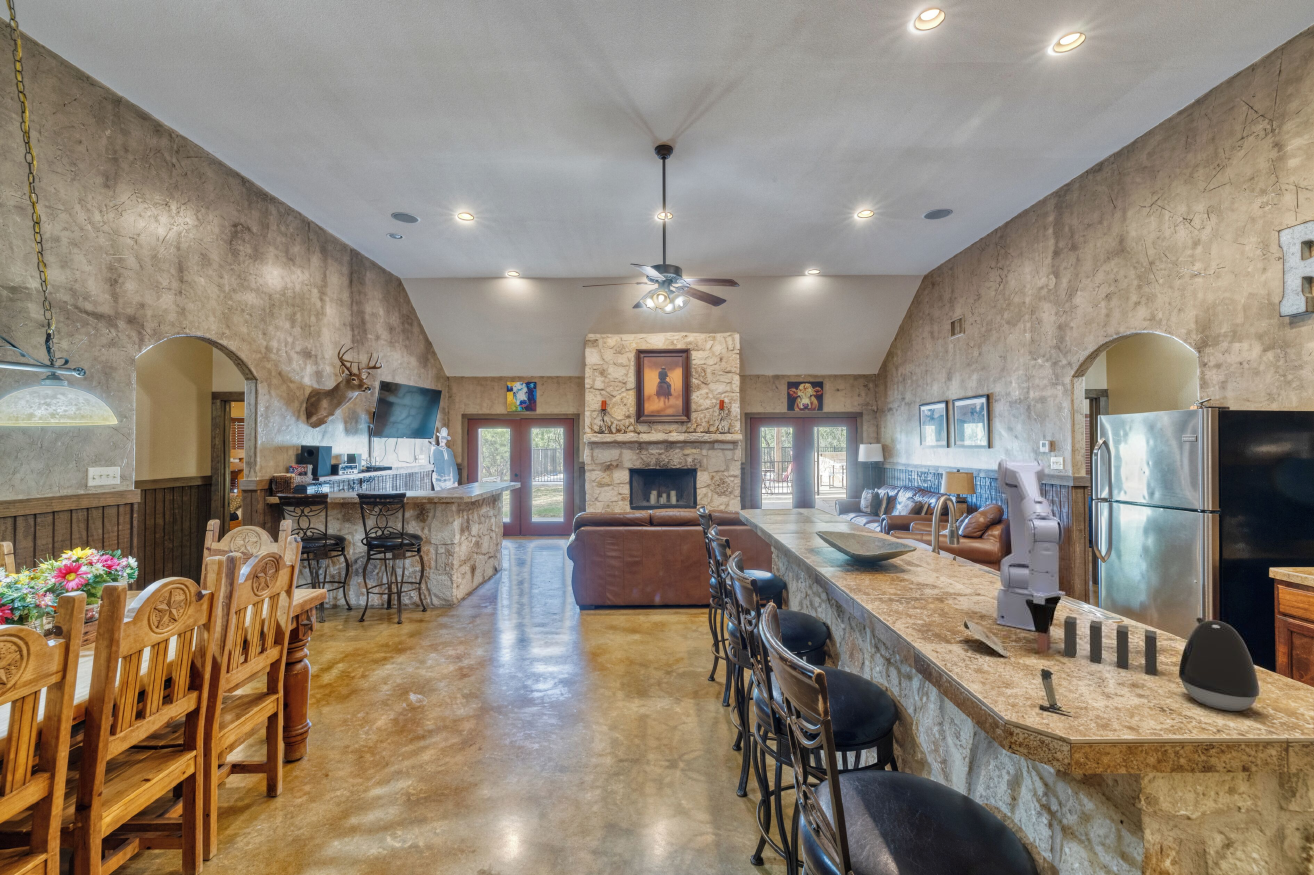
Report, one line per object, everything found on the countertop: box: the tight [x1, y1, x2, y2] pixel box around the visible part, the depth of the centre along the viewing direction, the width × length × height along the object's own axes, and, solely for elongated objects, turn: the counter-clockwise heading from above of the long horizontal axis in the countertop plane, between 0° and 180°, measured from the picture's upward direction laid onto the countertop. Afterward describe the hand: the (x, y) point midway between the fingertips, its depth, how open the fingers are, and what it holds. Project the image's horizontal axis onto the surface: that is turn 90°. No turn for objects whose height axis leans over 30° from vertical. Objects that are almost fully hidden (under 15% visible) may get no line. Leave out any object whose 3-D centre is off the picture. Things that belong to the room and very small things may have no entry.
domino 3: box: [1115, 624, 1130, 671], centre depth 117 cm, size 2×5×8 cm, turn 137°
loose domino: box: [1037, 623, 1051, 653], centre depth 126 cm, size 2×5×8 cm, turn 137°
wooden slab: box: [963, 619, 1009, 658], centre depth 126 cm, size 11×4×12 cm
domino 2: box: [1089, 619, 1103, 665], centre depth 120 cm, size 2×5×8 cm, turn 137°
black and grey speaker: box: [1178, 617, 1260, 712], centre depth 99 cm, size 10×10×15 cm
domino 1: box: [1063, 615, 1078, 659], centre depth 123 cm, size 2×5×8 cm, turn 137°
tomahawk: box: [1039, 668, 1073, 718], centre depth 102 cm, size 21×7×1 cm, turn 146°
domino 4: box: [1144, 629, 1158, 677], centre depth 113 cm, size 2×5×8 cm, turn 137°
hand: (1043, 629), depth 126 cm, fingers open, 6 cm apart
